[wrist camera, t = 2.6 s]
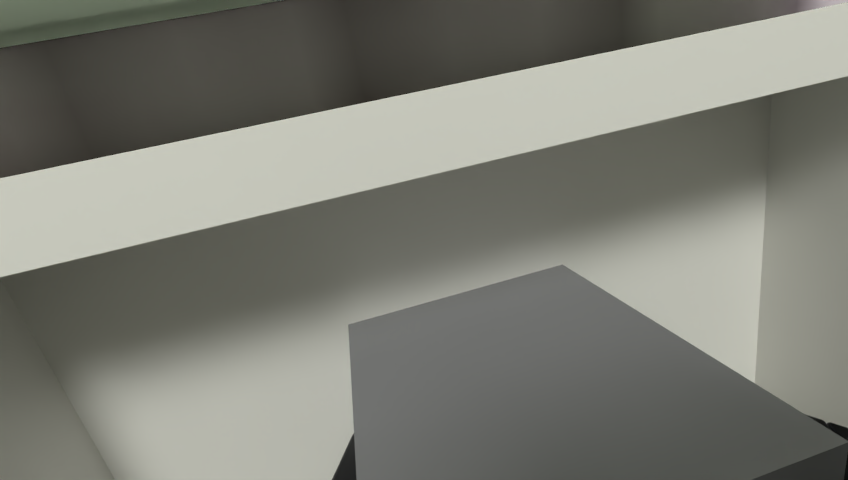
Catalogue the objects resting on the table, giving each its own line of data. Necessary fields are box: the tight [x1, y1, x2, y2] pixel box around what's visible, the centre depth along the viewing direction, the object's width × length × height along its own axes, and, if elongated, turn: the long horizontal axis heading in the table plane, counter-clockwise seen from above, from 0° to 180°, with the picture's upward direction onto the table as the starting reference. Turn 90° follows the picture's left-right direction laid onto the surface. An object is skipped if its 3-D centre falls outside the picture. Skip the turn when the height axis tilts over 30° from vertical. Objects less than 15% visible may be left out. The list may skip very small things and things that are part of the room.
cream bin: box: [0, 2, 848, 480], centre depth 8 cm, size 12×16×4 cm
